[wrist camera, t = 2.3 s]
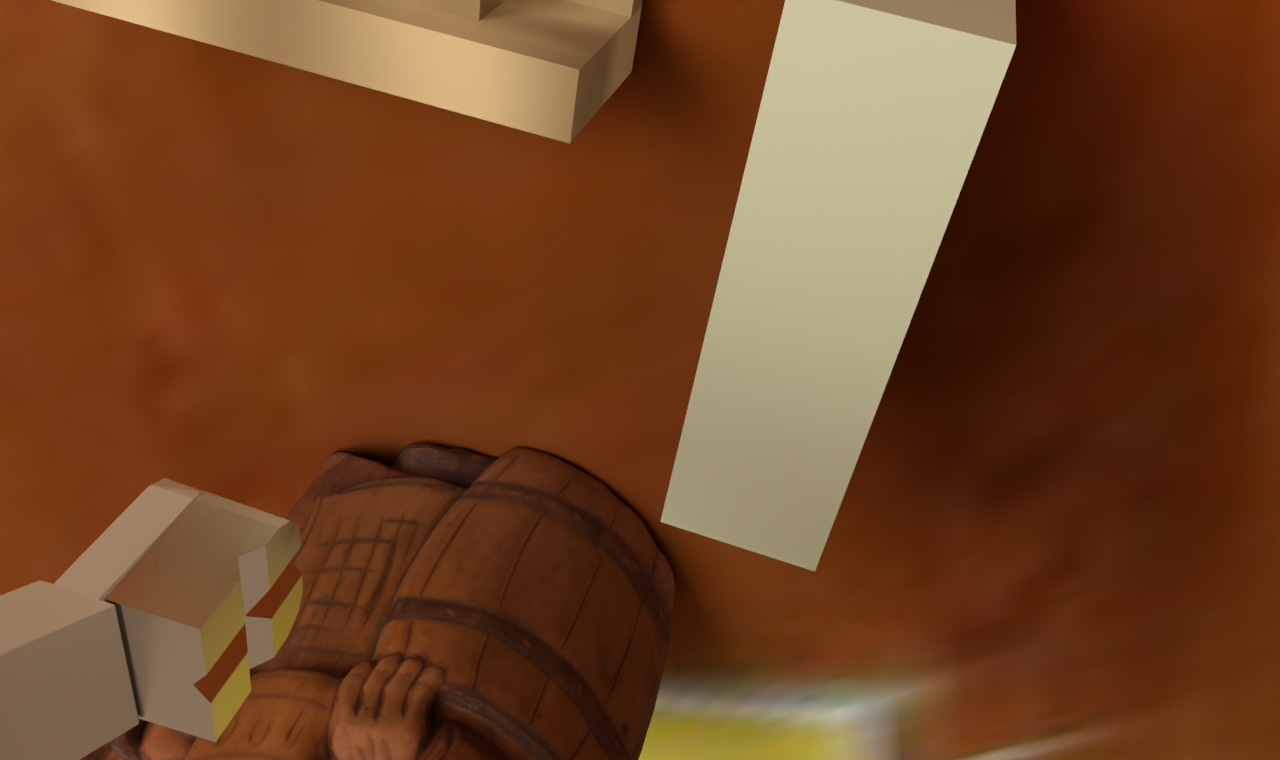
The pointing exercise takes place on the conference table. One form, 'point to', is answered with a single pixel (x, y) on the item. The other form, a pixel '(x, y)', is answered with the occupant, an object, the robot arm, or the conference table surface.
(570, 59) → the track frame
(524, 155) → the conference table surface
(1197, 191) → the conference table surface
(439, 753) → the wooden figurine
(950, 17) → the cream rectangular block
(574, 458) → the conference table surface
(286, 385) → the conference table surface
